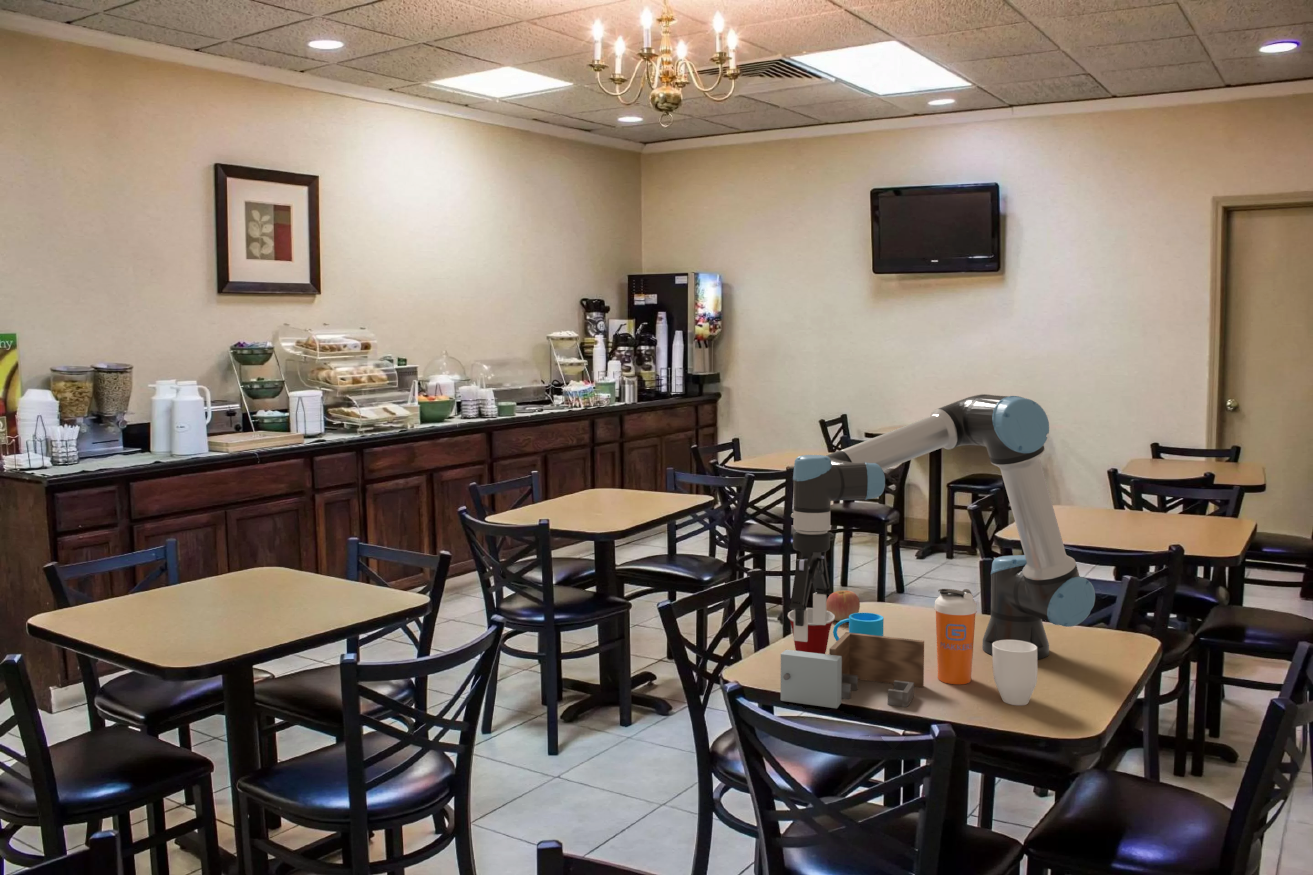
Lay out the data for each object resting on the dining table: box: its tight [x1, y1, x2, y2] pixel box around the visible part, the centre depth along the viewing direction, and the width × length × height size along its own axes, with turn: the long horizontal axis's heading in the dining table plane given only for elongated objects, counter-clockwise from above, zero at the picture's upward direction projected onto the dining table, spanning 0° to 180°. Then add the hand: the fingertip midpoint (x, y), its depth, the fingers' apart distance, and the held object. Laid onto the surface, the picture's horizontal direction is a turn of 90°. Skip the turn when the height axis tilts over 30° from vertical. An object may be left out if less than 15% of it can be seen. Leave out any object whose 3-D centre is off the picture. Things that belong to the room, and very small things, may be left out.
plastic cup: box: [787, 607, 835, 654], centre depth 244 cm, size 11×11×12 cm
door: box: [780, 649, 842, 709], centre depth 219 cm, size 12×4×10 cm, turn 65°
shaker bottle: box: [934, 588, 978, 685], centre depth 232 cm, size 9×9×20 cm
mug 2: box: [991, 640, 1038, 706], centre depth 220 cm, size 12×9×12 cm
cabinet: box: [828, 631, 925, 708], centre depth 225 cm, size 17×15×10 cm
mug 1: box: [832, 612, 885, 642], centre depth 256 cm, size 12×8×8 cm
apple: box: [826, 590, 861, 622], centre depth 281 cm, size 9×9×8 cm
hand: (810, 632), depth 218 cm, fingers open, 13 cm apart
